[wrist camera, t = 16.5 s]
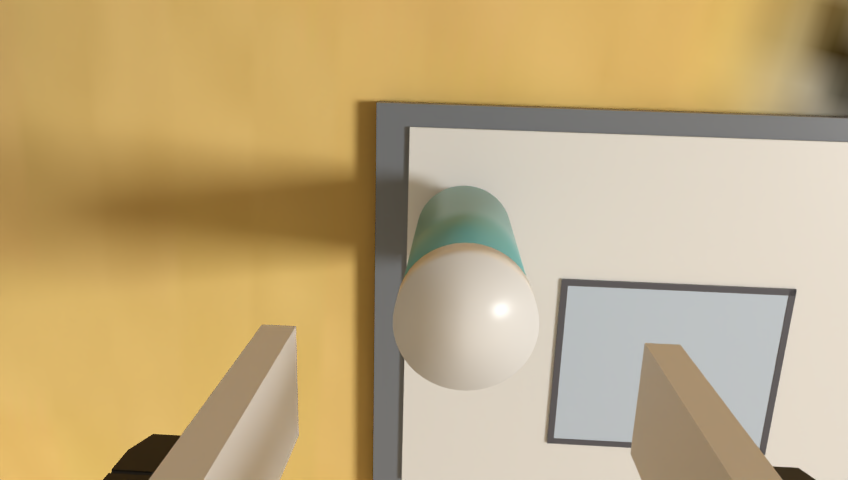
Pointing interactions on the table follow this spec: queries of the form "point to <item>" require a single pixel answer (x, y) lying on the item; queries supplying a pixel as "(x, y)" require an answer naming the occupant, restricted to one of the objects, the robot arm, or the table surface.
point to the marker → (465, 294)
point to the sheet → (625, 282)
